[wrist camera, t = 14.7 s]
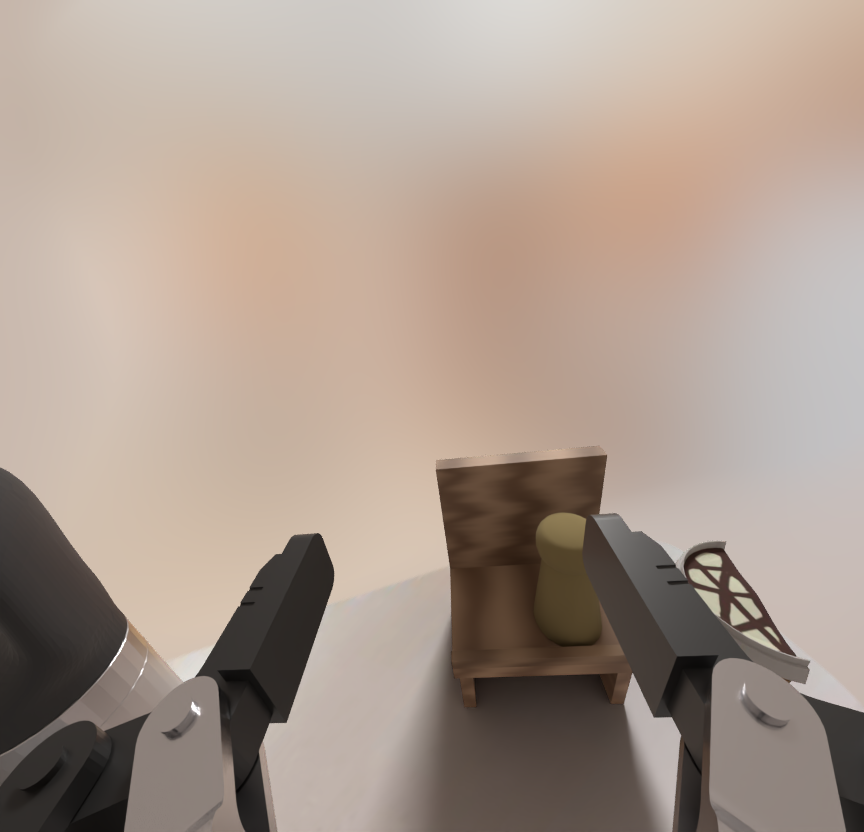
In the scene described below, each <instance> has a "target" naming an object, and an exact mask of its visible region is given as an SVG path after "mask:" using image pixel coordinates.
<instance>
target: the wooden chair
mask: <svg viewBox="0 0 864 832" xmlns="http://www.w3.org/2000/svg"><path fill="white" fill-rule="evenodd" d="M606 460H607V454H606V453H605V452H604V450H603V449H602V448H601V447H600V446H592V447H581V448H569V449H558V450H547V451H536V452H524V453H513V454H502V455H490V456H480V457H468V458H457V459H445V460H437V461H436V474H437V481H438V488H439V495H440V502H441V508H442V515H443V522H444V529H445V536H446V543H447V550H448V556H449V563H450V577H451V616H452V651H451V661H452V667H453V673H454V678H460V683H461V689H462V695H463V701H464V707H477V706H476V693H475V680H474V678H483V677H516V676H548V675H580V674H599V675H600V677H601V680H602V683H603V685H604V688H605V690H606V693H607V696H608V698H609V701H610V703H611V704H624V701H625V697H626V694H627V690H628V686H629V683H630V679H631V675H632V673H633V672H632V670H631V667H630V665H629V663H628V661H627V659H626V657H625V655H624V652H623V650H622V648H621V646H620V644H619V642H618V640H617V638H616V635H615V633H614V631H613V629H612V627H611V625H610V623H609V620H608V618H607V616H606V614H605V612H604V610H603V608H602V605H601V603H600V601H599V605H600V613H601V621H602V631H601V635H600V638H599V639H598V640H597V641H596V642H595V644H594V645H592V646H570V647H562V646H560V645H558V644H556V643H555V642H553V641H551V640H550V639H549V638H548V637H547V636H546V635H545V634H544V633H543V632H542V631H541V630H540V628H539V626H538V625H537V623H536V620H535V617H534V613H533V611H534V601H535V595H536V589H537V583H538V577H539V571H540V565H541V559H542V558H541V557H540V554H539V552H538V549H537V546H536V531H537V528H538V526H539V524H540V523H541V521H542V520H543V519H545V518H546V517H547V516H549V515H552V514H555V513H563V512H564V513H572V514H576V515H579V516H581V517H583V518H585V519H586V518H587V516H588V515H598V514H599V511H600V504H601V497H602V489H603V482H604V475H605V467H606Z"/></svg>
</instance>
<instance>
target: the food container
mask: <svg viewBox="0 0 864 832" xmlns="http://www.w3.org/2000/svg"><path fill="white" fill-rule="evenodd" d="M725 545H726V541H709V542H703V543H699V544H697V545H694V546H693V547H691V548H689V549H688V550H686V551H685V552H684V553H683V554H682V555H681V557H680V558H679V559H678V560H677V562H676V563H675V564H676V568H679V569H680V571H681V572H682V573H683V575H684V576H685V577H686V578H687V580H688V583H689V584H691V585H692V586H693V587H694V589H695V590H696V591H697V592H698V594H699V595H700V596H701V598H702V599H703V600H704V601H705V603H706V604H707V605H708V607H709V608H710V609H711V610H712V612H713V613H714V614H715V616H716V617H717V618H718V619H719V621H720V622H721V623H722V625H723V626H724V627H725V628H726V630H727V631H728V632H729V633H730V635H731V636H732V637H733V639H734V640H735V641H736V642H737V644H738V645H739V646H740V648H741V649H742V650H743V651H744V652H745V654H746V655H747V656H748V657H749V658H750V659H751V660H752V661H753V662H754V663H756V664H759V665H761V666H763V667H765V668H767V669H769V670H771V671H772V672H774V673H775V674H777V675H778V676H780V677H781V678H783V679H784V680H785V681H787V682H788V683H790V682H791V681H794V682H798V683H802V684H806V680H807V677H808V674H809V671H810V670H809V668H808V667H807V666H808V664H809V663H810V660H807V659H803V658H799V657H796V655H795V653H794V652H793V651H792V650H791V648H790V647H789V646H788V644H787V643H786V642H785V640H784V638H783V637H782V635H781V634H780V632H779V631H778V629H777V628H776V626H775V625H774V623H773V622H772V620H771V618H770V616H769V614H768V613H767V611H766V609H765V607H764V606H763V604H762V602H761V601H760V599H759V597H758V595H757V594H756V593H755V591H754V590H753V589H752V587H751V586H750V585H749V584H748V583H747V582H746V580H745V579H744V578H743V577H742V575H741V574H740V573H739V572H738V570H737V569H736V567H735V566H734V564H733V563H732V561H731V560H730V558H729V557H728V555H727V554H726V552H725V551H724V548H725Z"/></svg>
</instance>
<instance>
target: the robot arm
mask: <svg viewBox="0 0 864 832" xmlns="http://www.w3.org/2000/svg"><path fill="white" fill-rule="evenodd" d="M582 556H583V563H584V567H585V570H586V573H587V575H588V578H589V580H590V582H591V584H592V586H593V588H594V591H595V593H596V595H597V597H598V599H599V601H600V603H601V605H602V608H603V610H604V612H605V614H606V616H607V618H608V620H609V623H610V625H611V627H612V629H613V631H614V633H615V635H616V638H617V640H618V642H619V644H620V646H621V648H622V650H623V652H624V655H625V657H626V659H627V661H628V663H629V665H630V667H631V670H632V672H633V674H634V676H635V678H636V680H637V682H638V685H639V687H640V689H641V691H642V693H643V695H644V697H645V699H646V702H647V704H648V706H649V708H650V710H651V712H652V714H653V717H672V718H673V720H674V722H675V724H676V726H677V728H678V730H679V732H680V734H681V739H680V747H679V759H678V770H677V782H676V794H675V806H674V818H673V830H672V832H864V713H863V712H859V711H856V710H852V709H849V708H845V707H842V706H838V705H835V704H832V703H828V702H825V701H821V700H818V699H815V698H812V697H809V696H806V695H804V694H801V693H799V692H798V691H797V690H796V689H795V688H794V687H793V686H792V685H790V684H789V683H788V682H787V681H785V680H784V679H783V678H781V677H780V676H778V675H777V674H775V673H774V672H772V671H771V670H769V669H767V668H765V667H763V666H761V665H759V664H756V663H754V662H753V661H752V660H751V659H750V658H749V657H748V656H747V655H746V654H745V652H744V651H743V650H742V649H741V648H740V646H739V645H738V644H737V642H736V641H735V640H734V639H733V637H732V636H731V635H730V633H729V632H728V631H727V630H726V628H725V627H724V626H723V625H722V623H721V622H720V621H719V619H718V618H717V617H716V616H715V614H714V613H713V612H712V610H711V609H710V608H709V607H708V605H707V604H706V603H705V601H704V600H703V599H702V598H701V596H700V595H699V594H698V592H697V591H696V590H695V589H694V587H693V586H692V585H691V584H689V583H688V580H687V578H686V577H685V576H684V575H683V573H682V572H681V571H680V569H679V568H676V564H675V563H674V562H673V560H672V559H671V558H670V557H669V555H668V554H667V553H666V551H665V550H664V549H663V548H662V546H661V545H659V544H658V543H656V542H655V541H654V540H652V539H651V538H650V537H648V536H647V535H646V534H644V533H643V532H642V531H641V532H631V531H630V529H629V528H628V526H627V525H626V524H625V522H624V521H623V519H622V518H621V517H620V516H619V515H618V514H616V513H613V514H598V515H588V516H587V518H586V524H585V533H584V541H583V550H582ZM333 582H334V568H333V565H332V562H331V559H330V557H329V554H328V551H327V549H326V546H325V544H324V541H323V538H322V536H321V535H320V534H319V533H317V534H303V535H294V536H293V537H291V539H290V540H289V542H288V544H287V545H286V547H285V549H284V551H283V553H282V554H276V555H275V556H274V557H273V558H272V559H271V560H270V561H269V562H268V563H267V564H266V565H265V566H264V567H263V568H262V569H261V570H260V571H259V573H258V574H257V576H256V578H255V579H254V581H253V583H252V584H251V586H250V590H249V591H248V592H247V593H246V595H245V596H244V598H243V599H242V601H241V605H240V607H238V608H237V610H236V612H235V613H234V615H233V616H232V618H231V620H230V621H229V623H228V625H227V626H226V628H225V630H224V631H223V633H222V635H221V636H220V638H219V640H218V641H217V643H216V645H215V646H214V648H213V650H212V651H211V653H210V655H209V656H208V658H207V660H206V661H205V663H204V665H203V666H202V668H201V669H200V671H199V673H198V674H197V675H196V676H195V678H192V679H190V680H187V681H186V682H184V683H183V681H182V680H181V679H180V678H179V677H178V676H177V675H176V673H175V672H174V671H173V670H172V669H171V668H170V667H169V665H168V664H167V663H166V662H165V661H164V660H163V659H162V658H161V657H160V655H159V654H158V653H157V652H156V651H155V650H154V648H153V647H152V646H151V645H150V644H149V643H148V642H147V641H146V639H145V638H144V637H143V636H142V635H141V634H140V633H139V632H138V631H137V629H136V628H135V627H134V626H133V625H132V624H131V623H130V621H129V620H128V619H127V618H126V617H125V616H124V614H123V613H122V612H121V611H120V610H119V609H118V608H117V606H116V605H115V604H114V602H113V601H112V599H111V598H110V596H109V594H108V593H107V591H106V590H105V588H104V587H103V585H102V584H101V582H100V581H99V580H98V578H97V577H96V576H95V574H94V573H93V572H92V571H91V570H90V568H89V567H88V566H87V565H86V564H85V562H84V561H83V560H82V559H81V557H80V556H79V554H78V553H77V552H76V550H75V549H74V548H73V547H72V545H71V544H70V542H69V541H68V540H67V538H66V537H65V535H64V534H63V532H62V531H61V530H60V528H59V527H58V525H57V524H56V522H55V521H54V519H53V518H52V517H51V515H50V514H49V512H48V511H47V510H46V508H45V507H44V506H43V504H42V503H41V502H40V501H39V499H38V498H37V497H36V496H35V494H34V493H33V492H32V491H31V490H30V489H29V488H28V487H27V486H26V485H25V484H24V483H23V482H22V481H20V480H19V479H18V478H17V477H15V476H14V475H12V474H11V473H10V472H8V471H6V470H4V469H2V468H0V832H277V826H276V819H275V812H274V806H273V799H272V793H271V786H270V779H269V773H268V766H267V760H266V753H265V747H264V743H263V739H264V736H265V733H266V731H267V728H268V726H269V723H287V720H288V717H289V714H290V711H291V708H292V705H293V702H294V699H295V696H296V693H297V690H298V687H299V684H300V681H301V679H302V676H303V673H304V670H305V667H306V664H307V661H308V658H309V655H310V652H311V649H312V646H313V643H314V640H315V637H316V634H317V632H318V629H319V626H320V623H321V620H322V617H323V614H324V611H325V608H326V605H327V602H328V599H329V596H330V593H331V590H332V587H333Z"/></svg>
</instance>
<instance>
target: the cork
mask: <svg viewBox="0 0 864 832" xmlns="http://www.w3.org/2000/svg"><path fill="white" fill-rule="evenodd" d="M585 524H586V519H585V518H583V517H581V516H579V515H576V514H572V513H564V512H563V513H555V514H552V515H549V516H547V517H546V518H545V519H543V520H542V521H541V523H540V524H539V526H538V528H537V531H536V546H537V549H538V552H539V554H540V557H541V558H542V559H541V565H540V571H539V577H538V583H537V589H536V595H535V601H534V611H533V613H534V617H535V620H536V623H537V625H538V626H539V628H540V630H541V631H542V632H543V633H544V634H545V635H546V636H547V637H548V638H549V639H550V640H551V641H553V642H555V643H556V644H558V645H560V646H562V647H570V646H592V645H594V644H595V642H596V641H597V640H598V639H599V638H600V635H601V631H602V621H601V613H600V605H599V599H598V597H597V595H596V593H595V591H594V588H593V586H592V584H591V582H590V580H589V578H588V575H587V573H586V570H585V567H584V563H583V556H582V550H583V541H584V533H585Z"/></svg>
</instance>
